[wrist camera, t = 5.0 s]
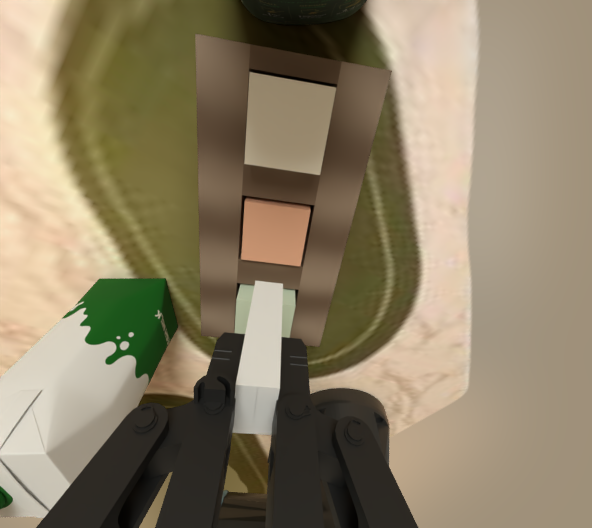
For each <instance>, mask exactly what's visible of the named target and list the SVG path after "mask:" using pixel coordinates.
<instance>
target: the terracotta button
mask: <svg viewBox="0 0 592 528" xmlns="http://www.w3.org/2000/svg"><path fill="white" fill-rule="evenodd" d="M310 211H311V210H310V205H309V204H302V203H295V202H287V201H280V200H273V199H266V198H259V197H252V196H247V197H246V200H245V205H244V221H243V237H242V253H241V259H242V260H250V261H259V262H267V263H275V264H284V265H292V266H301V260H302V255H303V249H304V244H305V238H306V233H307V228H308V222H309V217H310Z"/></svg>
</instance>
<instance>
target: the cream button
mask: <svg viewBox="0 0 592 528" xmlns="http://www.w3.org/2000/svg"><path fill="white" fill-rule="evenodd" d="M335 93H336V87H330V86H324V85H319V84H313V83H308V82H302V81H297V80H291V79H286V78H280V77H274V76H269V75H263V74H258V73H252V72H250V74H249V91H248V108H247V126H246V143H245V160H244V164H249V165H255V166H262V167H269V168H275V169H282V170H289V171H295V172H302V173H309V174H315V175H320V173H321V167H322V162H323V157H324V151H325V146H326V141H327V135H328V130H329V125H330V119H331V114H332V109H333V103H334V98H335Z"/></svg>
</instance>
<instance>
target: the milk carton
mask: <svg viewBox="0 0 592 528" xmlns="http://www.w3.org/2000/svg"><path fill="white" fill-rule="evenodd" d="M177 328H178V325H177V321H176V317H175V313H174V309H173V305H172V302H171V298H170V294H169V290H168V286H167V282H166V279H99V280H98V281H97V282H96V283H95V284H94V285H93V286H92V288H91V289H90V290H89V291H88V292H87V293H86V294H85V295H84V296H83V298H82V299H81V300H80V301H79V302H78V303H77V304H76V305H75V306H74V307H73V308H72V309H71V310H70V311H69V312H68V313H67V314H66V315H65V316H64V317H63V318H62V319H61V320H60V321H59V322H58V323H57V324H56V325H54V326H53V327H52V328H51V329H50V330H49V331H48V332H47V333H46V334H45V335H44V336H43V337H42V338H41V339H40V340H39V341H38V342H37V343H36V344H35V345H34V346H33V347H31V348H30V349H29V350H28V351H27V352H26V353H25V354H24V355H23V356H22V357H21V358H20V359H19V360H18V361H17V362H16V363H15V364H14V365H13V366H12V367H11V368H9V369H8V370H7V371H6V372H5V373H4V374H3V375H2V376H1V377H0V517H36V518H44V517H45V516H46V515H47V514H48V512H49V511H50V510H51V509H52V507H53V506H54V505H55V504H56V502H57V501H58V500H59V499H60V498H61V496H62V495H63V494H64V493H65V491H66V490H67V489H68V488H69V486H70V485H71V484H72V483H73V481H74V480H75V479H76V478H77V476H78V475H79V474H80V473H81V471H82V470H83V469H84V468H85V466H86V465H87V464H88V463H89V462H90V460H91V459H92V458H93V457H94V455H95V454H96V453H97V452H98V450H99V449H100V448H101V447H102V445H103V444H104V443H105V442H106V440H107V439H108V438H109V437H110V435H111V434H112V433H113V432H114V430H115V429H116V428H117V427H118V426H119V424H120V423H121V422H122V421H123V419H124V418H125V417H126V416H127V415H128V414H129V413H130V412H131V411H132V410H133V409H135V408H136V407H138V404H139V402H140V400H141V398H142V396H143V394H144V392H145V390H146V388H147V386H148V384H149V382H150V380H151V378H152V376H153V374H154V372H155V370H156V368H157V366H158V364H159V362H160V360H161V358H162V356H163V354H164V352H165V350H166V348H167V346H168V344H169V342H170V341H171V339H172V337H173V335H174V333H175V331H176V330H177Z"/></svg>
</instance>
